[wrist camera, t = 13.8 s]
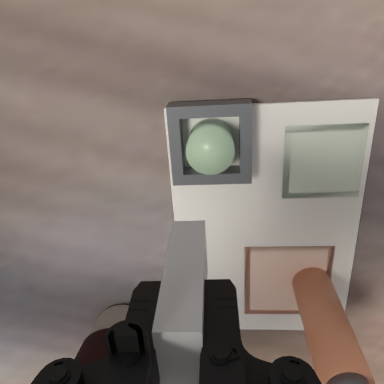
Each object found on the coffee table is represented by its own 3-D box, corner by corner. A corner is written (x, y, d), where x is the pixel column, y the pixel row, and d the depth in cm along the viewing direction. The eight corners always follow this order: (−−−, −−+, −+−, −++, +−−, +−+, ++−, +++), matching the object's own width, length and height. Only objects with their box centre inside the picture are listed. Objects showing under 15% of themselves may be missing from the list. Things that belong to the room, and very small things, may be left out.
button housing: (175, 176, 34) (173, 185, 32) (169, 102, 31) (165, 107, 29) (250, 174, 33) (251, 183, 31) (250, 98, 30) (252, 103, 28)
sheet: (185, 326, 43) (184, 329, 42) (164, 107, 32) (163, 108, 31) (341, 327, 41) (342, 331, 40) (377, 97, 30) (379, 98, 29)
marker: (291, 297, 39) (323, 424, 27) (292, 267, 37) (327, 388, 25) (329, 297, 39) (379, 425, 26) (332, 266, 37) (387, 389, 25)
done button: (190, 162, 33) (187, 175, 30) (187, 119, 31) (183, 129, 28) (233, 160, 33) (235, 174, 30) (233, 117, 31) (234, 127, 28)
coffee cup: (72, 306, 43) (2, 438, 29) (145, 283, 40) (107, 416, 27) (111, 361, 46) (66, 501, 33) (181, 344, 44) (163, 486, 30)
